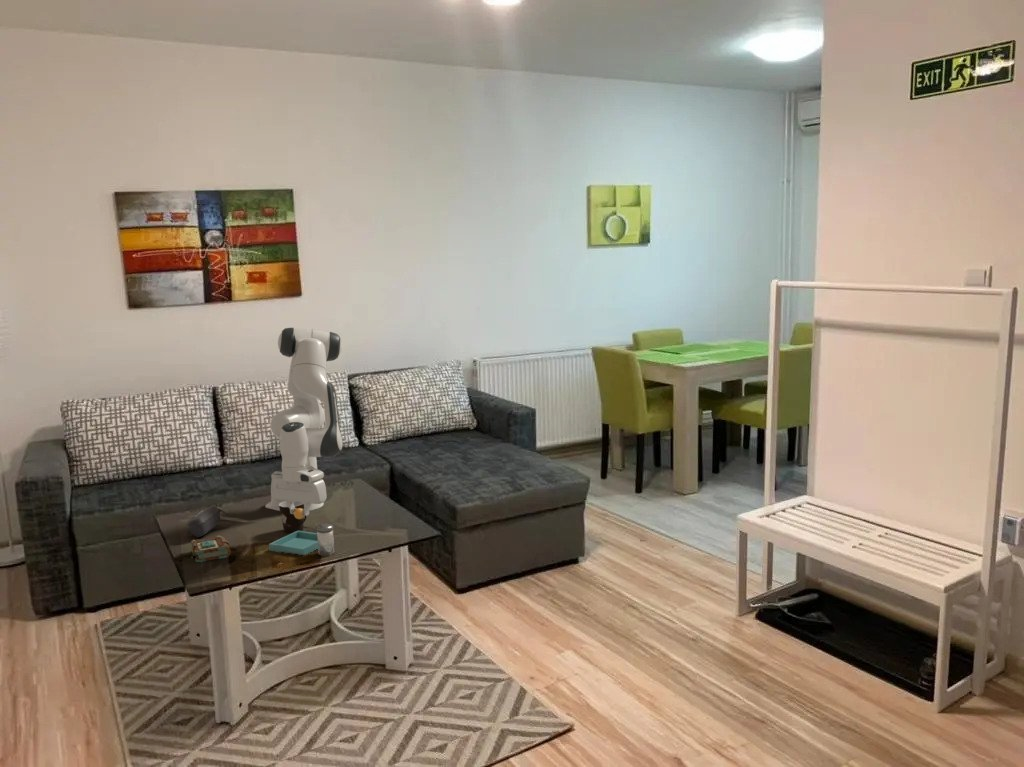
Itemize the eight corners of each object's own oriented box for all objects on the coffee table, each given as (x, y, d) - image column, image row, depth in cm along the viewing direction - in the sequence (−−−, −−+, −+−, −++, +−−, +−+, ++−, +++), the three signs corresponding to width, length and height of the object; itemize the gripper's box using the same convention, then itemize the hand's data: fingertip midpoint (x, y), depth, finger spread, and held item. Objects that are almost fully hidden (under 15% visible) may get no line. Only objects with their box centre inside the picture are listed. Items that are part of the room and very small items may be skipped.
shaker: (314, 555, 260) (312, 528, 259) (325, 549, 265) (323, 522, 264) (328, 557, 258) (326, 529, 257) (338, 551, 263) (336, 524, 262)
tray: (269, 551, 265) (269, 543, 265) (298, 537, 278) (297, 530, 278) (303, 556, 259) (303, 549, 259) (331, 542, 272) (331, 535, 272)
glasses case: (202, 524, 296) (200, 503, 295) (231, 523, 296) (229, 503, 294) (181, 541, 278) (179, 519, 277) (212, 540, 278) (210, 518, 277)
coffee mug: (279, 529, 287) (277, 501, 286) (304, 525, 291) (302, 498, 289) (284, 539, 277) (281, 510, 275) (309, 535, 280) (307, 507, 278)
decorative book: (224, 542, 277) (223, 527, 276) (232, 558, 262) (230, 543, 261) (182, 549, 271) (180, 534, 270) (187, 566, 256) (186, 551, 255)
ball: (292, 519, 266) (291, 509, 266) (299, 516, 269) (298, 506, 269) (300, 520, 265) (299, 510, 264) (307, 517, 268) (306, 507, 267)
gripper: (264, 473, 266) (268, 514, 269) (315, 477, 258) (318, 520, 260) (277, 468, 272) (281, 508, 274) (327, 472, 264) (330, 514, 266)
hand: (299, 514), depth 267 cm, fingers closed on ball, 3 cm apart
